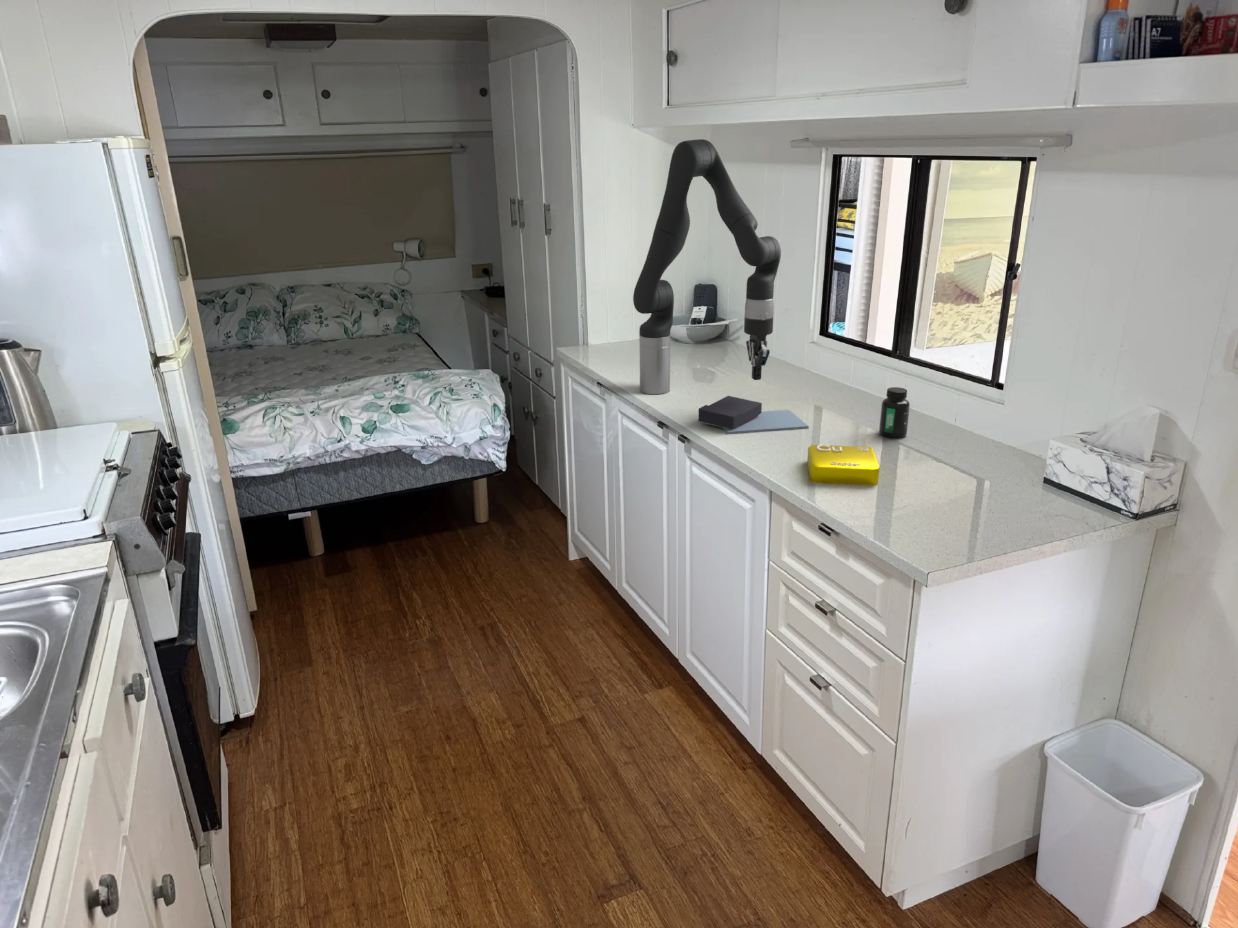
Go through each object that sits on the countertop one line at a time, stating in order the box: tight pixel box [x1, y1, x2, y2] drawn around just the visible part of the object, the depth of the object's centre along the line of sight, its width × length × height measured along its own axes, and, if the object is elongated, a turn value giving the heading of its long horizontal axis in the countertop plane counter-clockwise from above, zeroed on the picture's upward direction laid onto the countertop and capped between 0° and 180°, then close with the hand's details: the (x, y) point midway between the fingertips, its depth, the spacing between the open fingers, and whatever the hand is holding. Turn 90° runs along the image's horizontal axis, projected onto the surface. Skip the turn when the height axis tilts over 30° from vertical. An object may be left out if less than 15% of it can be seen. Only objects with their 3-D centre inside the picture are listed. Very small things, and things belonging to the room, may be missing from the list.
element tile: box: [806, 444, 881, 486], centre depth 196 cm, size 15×15×5 cm
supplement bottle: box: [878, 386, 911, 440], centre depth 218 cm, size 7×7×12 cm
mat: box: [721, 409, 810, 435], centre depth 231 cm, size 15×22×1 cm
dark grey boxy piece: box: [698, 395, 763, 430], centre depth 231 cm, size 11×4×15 cm
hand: (756, 379), depth 231 cm, fingers closed
